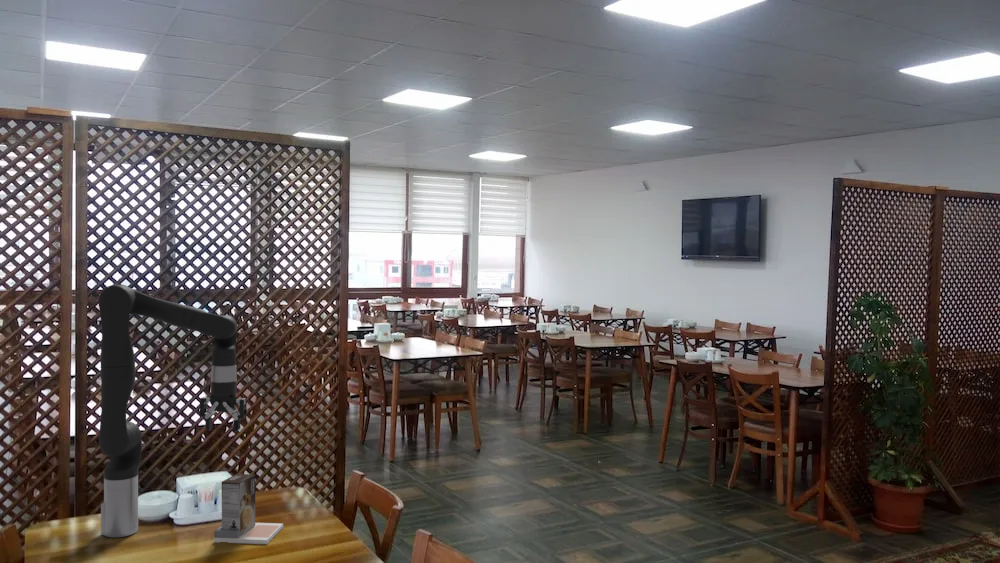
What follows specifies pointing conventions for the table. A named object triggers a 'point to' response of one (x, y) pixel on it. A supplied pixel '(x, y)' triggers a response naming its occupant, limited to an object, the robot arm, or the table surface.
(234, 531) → the slide dock
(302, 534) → the table surface
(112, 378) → the robot arm
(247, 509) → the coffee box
